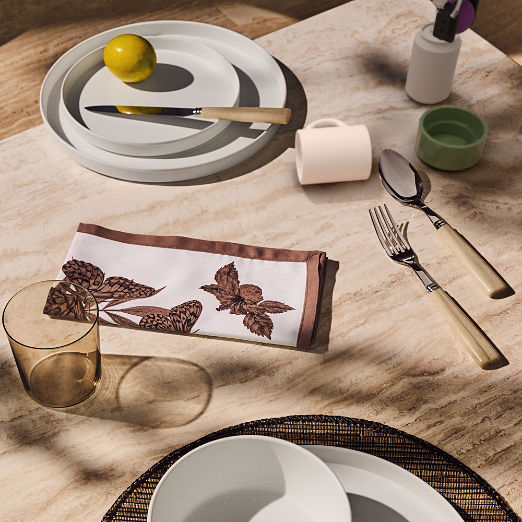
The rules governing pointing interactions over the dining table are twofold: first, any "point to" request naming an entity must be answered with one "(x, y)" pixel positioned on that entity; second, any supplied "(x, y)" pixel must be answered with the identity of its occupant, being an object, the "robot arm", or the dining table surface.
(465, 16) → the ball
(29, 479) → the dining table surface
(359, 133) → the mug
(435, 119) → the bowl
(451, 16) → the robot arm
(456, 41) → the can
